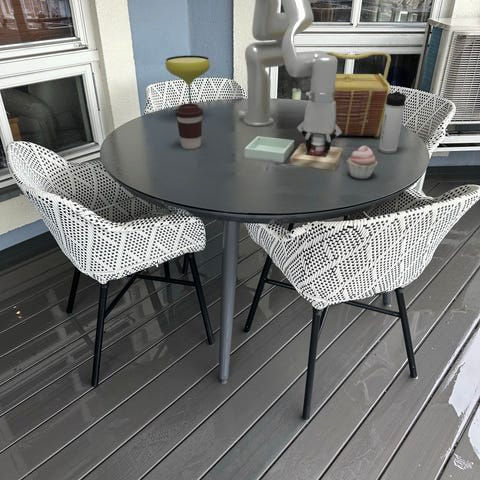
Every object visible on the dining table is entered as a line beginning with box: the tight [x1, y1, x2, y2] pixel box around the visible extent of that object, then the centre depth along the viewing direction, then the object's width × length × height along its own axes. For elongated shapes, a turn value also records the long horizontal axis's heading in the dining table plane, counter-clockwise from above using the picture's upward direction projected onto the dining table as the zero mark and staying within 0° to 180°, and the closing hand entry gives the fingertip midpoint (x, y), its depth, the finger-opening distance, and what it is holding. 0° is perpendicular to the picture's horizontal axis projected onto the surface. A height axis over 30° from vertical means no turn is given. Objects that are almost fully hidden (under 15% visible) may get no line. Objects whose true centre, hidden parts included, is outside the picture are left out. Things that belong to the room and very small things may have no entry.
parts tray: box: [244, 135, 295, 164], centre depth 160 cm, size 14×14×4 cm
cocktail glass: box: [165, 55, 211, 119], centre depth 191 cm, size 18×18×25 cm
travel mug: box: [378, 91, 407, 155], centre depth 157 cm, size 6×7×20 cm
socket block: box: [289, 143, 344, 171], centre depth 155 cm, size 15×15×2 cm
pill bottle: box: [310, 134, 326, 157], centre depth 153 cm, size 5×5×8 cm
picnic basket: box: [310, 50, 392, 138], centre depth 175 cm, size 29×26×30 cm
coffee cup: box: [174, 102, 204, 150], centre depth 164 cm, size 10×10×15 cm
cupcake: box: [346, 145, 378, 180], centre depth 141 cm, size 9×9×10 cm
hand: (317, 150), depth 154 cm, fingers open, 5 cm apart
